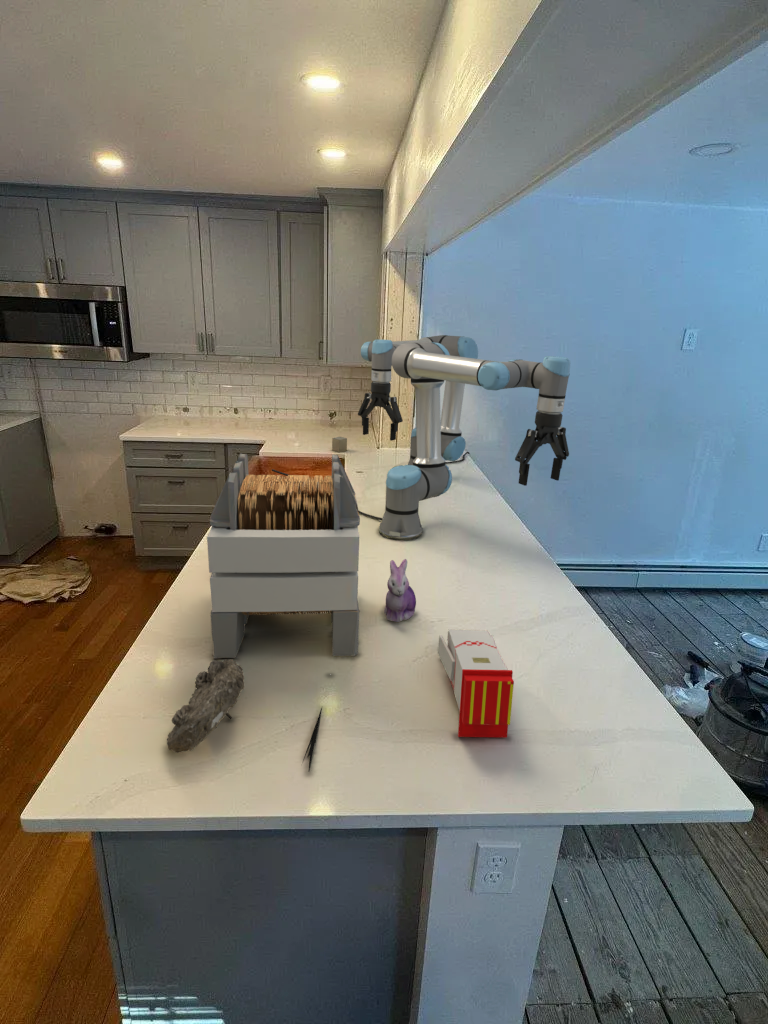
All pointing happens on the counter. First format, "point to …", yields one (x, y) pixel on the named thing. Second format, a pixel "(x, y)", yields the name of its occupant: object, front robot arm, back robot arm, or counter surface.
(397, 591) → the figurine
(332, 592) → the record crate stand
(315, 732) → the feather
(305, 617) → the counter surface
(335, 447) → the metal block
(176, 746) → the fossil
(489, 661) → the toy
